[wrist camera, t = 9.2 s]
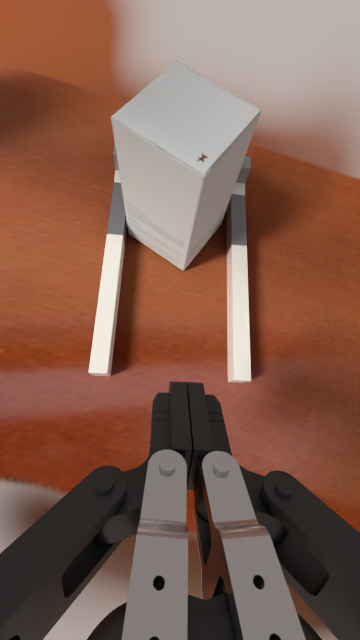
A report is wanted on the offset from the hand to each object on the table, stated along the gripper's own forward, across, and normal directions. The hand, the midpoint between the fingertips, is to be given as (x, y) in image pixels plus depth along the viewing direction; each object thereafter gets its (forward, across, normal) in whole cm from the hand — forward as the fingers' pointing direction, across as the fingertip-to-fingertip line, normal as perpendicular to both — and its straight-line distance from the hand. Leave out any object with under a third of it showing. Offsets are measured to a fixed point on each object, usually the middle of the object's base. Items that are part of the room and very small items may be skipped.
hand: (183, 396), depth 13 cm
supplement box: (+22, 0, -3) cm, 22 cm away
